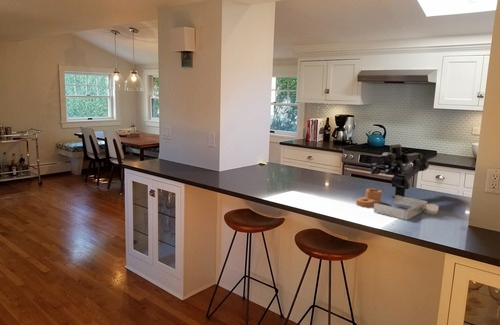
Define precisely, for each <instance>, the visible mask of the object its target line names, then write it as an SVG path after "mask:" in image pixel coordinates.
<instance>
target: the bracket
mask: <svg viewBox="0 0 500 325" xmlns="http://www.w3.org/2000/svg"><path fill="white" fill-rule="evenodd" d="M382 192H383V191H382V190H381V189H379V190H378V189H377V188H366V190H365V196H362V197H359V198H356V201H355V204H356V206H358V207H361V208H362V207H363V208H370V207H371V208H372V207H374V203H377V204H382V203H381V201H382Z"/></svg>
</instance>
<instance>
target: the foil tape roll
mask: <svg viewBox="0 0 500 325" xmlns="http://www.w3.org/2000/svg"><path fill="white" fill-rule="evenodd" d="M423 212H424V213H425V214H427V215H438V214H439V205H438V204H434V203H427V204H425V210H424V211H423Z"/></svg>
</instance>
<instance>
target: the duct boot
mask: <svg viewBox="0 0 500 325" xmlns="http://www.w3.org/2000/svg"><path fill="white" fill-rule="evenodd" d="M394 195H395V194H394ZM394 204H397V205H402V206H408V207H410V208H408V209H403V208H398V207H393V206H390V205H386V204H385V205H384V204H382V203H379V204H377V203H374V206H373V213H377V214H381V215H385V216H389V217H393V218H397V219H401V220H405V221H407V220H409V219H411V218H413V217H415V216H417V215H419V214H420V213H422V212H424V210H425V204H428V201H427V200H424V199H423V200H422V199H418V198H412V197H407V196H406V197H404V196H399V195H395V198H394Z"/></svg>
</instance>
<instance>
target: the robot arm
mask: <svg viewBox="0 0 500 325" xmlns="http://www.w3.org/2000/svg"><path fill="white" fill-rule="evenodd" d="M389 149H390V152H383V153H382V154H381V155H380V158H381V160H382V161H383V162H381V163H382V164H379V162H372V163H371V164H370V169H371V172H370V174H371V175H379V174H380V173H381V171H382V170H383V171H384V173H385V175H393V176H392V177H391V181H390V182H391V186H392V188H395V189H394V195H392V198H394V199H395V195H399V196H404V197H407V196H406V190H409V189H410V185H411V184H410V182H409V180H410V179H411V178H412V177H413V176H415V175H416V174H418V173H419V172H425V171H427V169H429V166H430V164H429V161H428V159H427V158H426V157H425V156H424V155H423V153H421V152H412V153H407V154H406V153H402V145H401V144H398V143H397V144H390V147H389ZM410 163H412V166H410V167H409V168H407V169H406V170H404V169H405V168H404V165H408V164H410Z"/></svg>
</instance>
